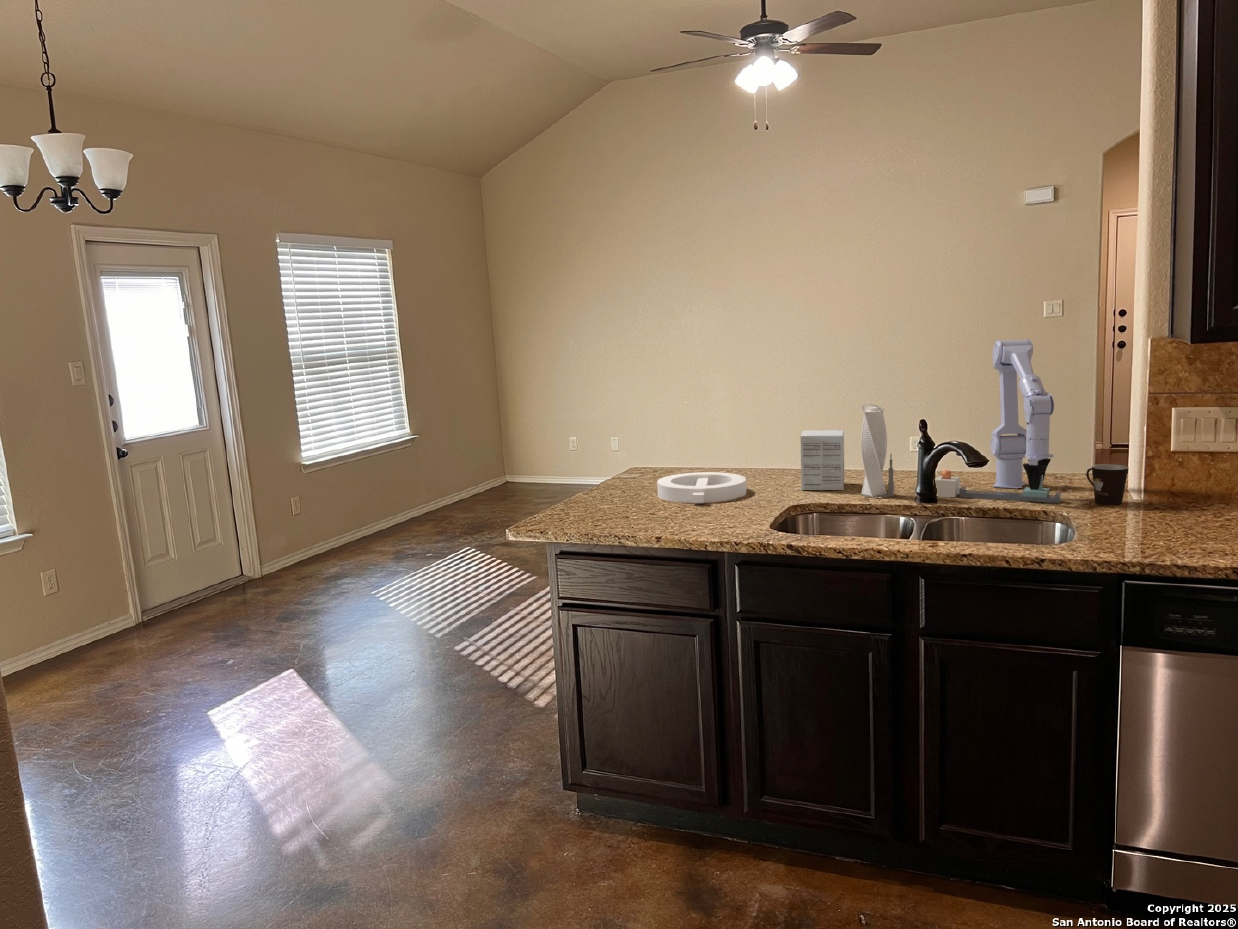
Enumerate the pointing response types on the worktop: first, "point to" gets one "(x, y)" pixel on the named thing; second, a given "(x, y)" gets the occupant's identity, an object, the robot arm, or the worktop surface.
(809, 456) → the supplement box
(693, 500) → the ring with crossbar
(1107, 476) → the coffee mug
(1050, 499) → the rail
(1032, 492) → the carriage
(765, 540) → the worktop surface
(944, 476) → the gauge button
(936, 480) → the white button housing
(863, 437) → the skyscraper
